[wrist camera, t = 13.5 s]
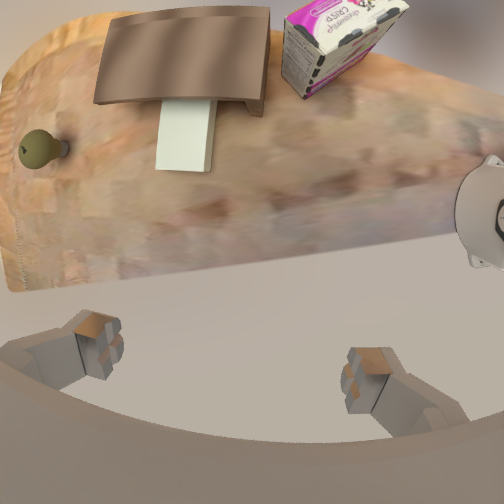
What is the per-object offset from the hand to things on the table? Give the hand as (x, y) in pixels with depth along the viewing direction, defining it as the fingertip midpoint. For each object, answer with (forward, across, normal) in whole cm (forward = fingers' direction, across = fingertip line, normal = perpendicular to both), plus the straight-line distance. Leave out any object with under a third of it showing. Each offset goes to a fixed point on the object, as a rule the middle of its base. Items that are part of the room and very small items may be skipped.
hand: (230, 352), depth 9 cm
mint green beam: (+29, +10, -13) cm, 33 cm away
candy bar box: (+29, -6, -21) cm, 37 cm away
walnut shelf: (+29, +10, -18) cm, 36 cm away
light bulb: (+29, +31, -8) cm, 43 cm away
